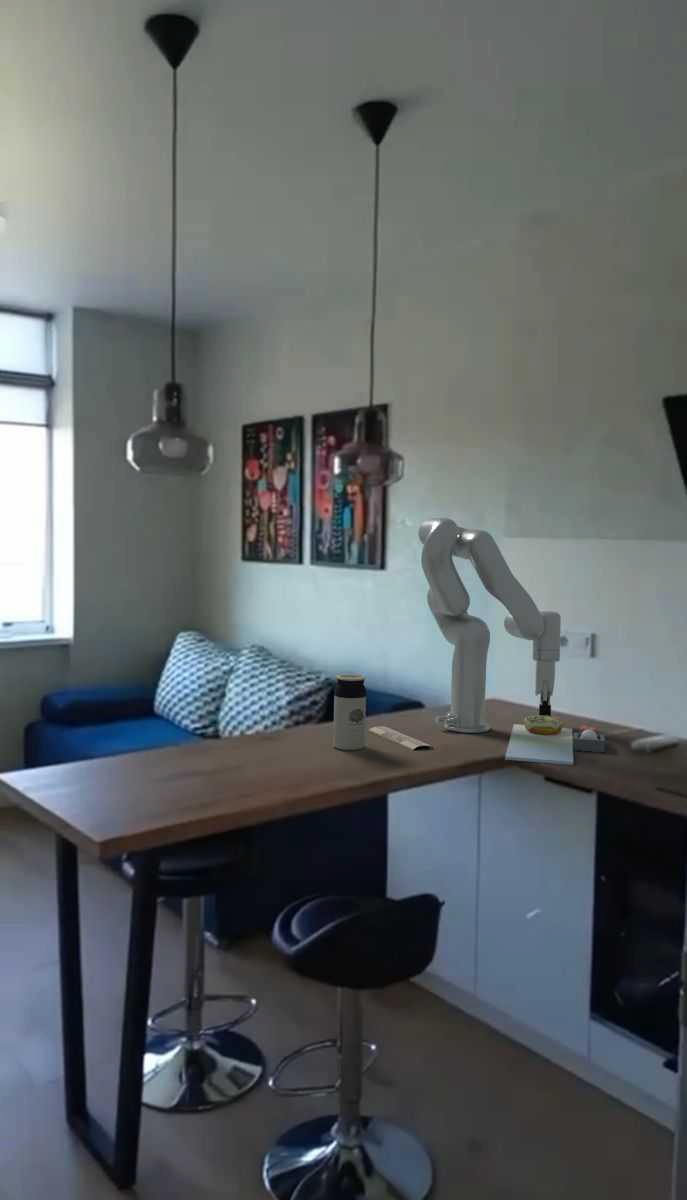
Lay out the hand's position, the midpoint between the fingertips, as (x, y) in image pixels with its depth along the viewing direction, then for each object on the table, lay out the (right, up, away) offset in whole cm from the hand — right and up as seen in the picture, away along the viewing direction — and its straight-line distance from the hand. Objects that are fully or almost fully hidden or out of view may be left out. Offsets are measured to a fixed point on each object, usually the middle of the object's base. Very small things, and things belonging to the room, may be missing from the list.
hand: (544, 718), depth 256 cm
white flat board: (-6, -4, -22) cm, 23 cm away
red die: (+7, -4, -18) cm, 20 cm away
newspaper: (-43, -4, -21) cm, 48 cm away
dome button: (+6, -4, -25) cm, 26 cm away
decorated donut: (-3, -2, -10) cm, 11 cm away
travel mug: (-56, -3, -30) cm, 64 cm away
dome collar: (+6, -4, -25) cm, 26 cm away
